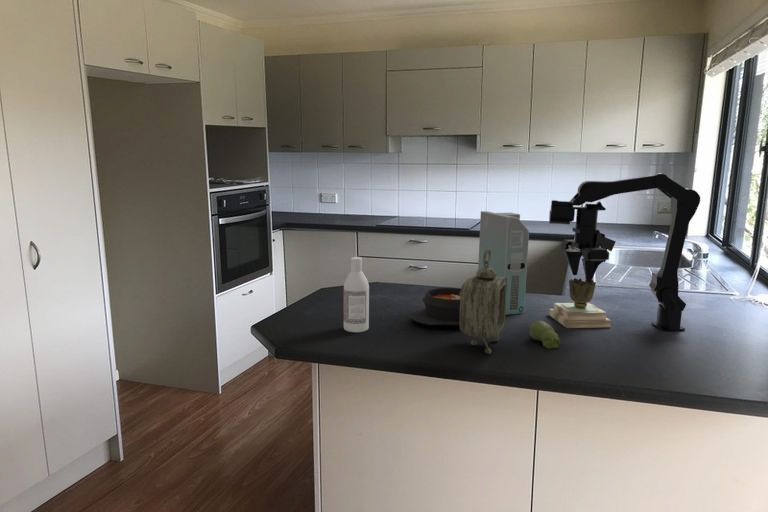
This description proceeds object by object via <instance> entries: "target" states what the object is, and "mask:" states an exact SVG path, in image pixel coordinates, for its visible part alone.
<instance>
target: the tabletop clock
mask: <svg viewBox="0 0 768 512" xmlns="http://www.w3.org/2000/svg"><path fill="white" fill-rule="evenodd" d="M487 253H489V259H488V261H487V260H486V261H485V259H486V255H487ZM490 257H491V252H490V250H489V249H487V250H486V251H485V253H484V259H483V264H484V266H485V267H483V268H480V269H479V270H478V269H477V271H476V273H475V275H474V276H471V277H469V278H467V279H466V280H465V281H464V282H463V283H462V286H461V288H460V289H461V296H460V319H459V326H458V327H459V331H461V333H463V334H464V335H465V336H467V337H474V338H473V339H471V341H470V345H472V346H476V345H477V344H478V341H477V338H481V339H482V340H483V343H484V345H485V349H484V353H485V354H486V355H491V353H492V349H491V347H489V343H488V339H490V340H491V339H493V341H495V342H499V340H500V336H501V334H502V333H503V330H504V327H505V324H506V323H505V322H506V299H507V278H506V277H497V276H496V273H495V271H494V270H493V269H492V268H489V263H490Z"/></svg>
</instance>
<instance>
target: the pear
mask: <svg viewBox="0 0 768 512" xmlns="http://www.w3.org/2000/svg"><path fill="white" fill-rule="evenodd" d="M529 335H530V336H531V338H532V340H534V341H537V342H541V343H542V346H543V347H544V348H546V349H557V348H560V345H561V339H560V336H559V335H558V333H556V331H555V330H554V328H553V326H552V325H551V324H549V323H547V322H546V321H543V320H536V321H534V322H533V323H531V325H530V327H529Z"/></svg>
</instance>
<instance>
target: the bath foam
mask: <svg viewBox="0 0 768 512" xmlns="http://www.w3.org/2000/svg"><path fill="white" fill-rule="evenodd" d="M350 264H351V266H350V269H351V270H350V272H349V273H348V276H347V277H346V279H345V280H344V283H343V284H344V285H343V329H344V330H345V331H346V332H349V333H363V332H366V331H368V330H369V327H370V285H369V281H368V279H367V277H366V276H365V274H364V272H363V258H362V257H360V256H359V257H358V256H357V257H356V256H354V257H351V258H350Z"/></svg>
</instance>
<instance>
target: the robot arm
mask: <svg viewBox="0 0 768 512" xmlns="http://www.w3.org/2000/svg"><path fill="white" fill-rule="evenodd" d="M654 189H657V190H659V191H660V192H661V193H662V194H664V195H665V196H667V197H668V198H669V199H670V215H671V222H670V227H669V231H668V234H667V235H668V236H667V239H666V245H665V249H664V253H663V257H662V261H661V262H662V263H661V266H660V269H659V270H658V272H657V273H656V272H655V273H654V272H651V279H650V280H651V281H650V283H649V284H648V287H650V292H651V294H652V295H653V296H654V297H655V298H656V301H657V302H658V308H657V313H656V314H657V315H656V322H651V325H653V326H655V327H656V328H658V329H660V330H662V331H666V332H667V331H668V332H670V331H672V332H673V331H686V328H685V327H683V326H681V323H682V315H683V314H682V313H683V311H684V310H685V309H686V306H687V304H686V303H685V301H683V299H682V298H681V297H680V296H679V287H680V286H679V284H680V283H679V276H678V275H679V274H678V271H679V267H680V263H681V258H682V253H683V250H684V245H685V241H686V236H687V233H688V229H689V228H688V227H689V224H690V221H691V220H692V219H693V217H694V216H695V215H696V212H697V210H698V208H699V205H700V204H701V196H700V194H699V193H698V192H697V190H695V189H691V188H687V187H684V186H682V185H681V184H679V183H678V182H676V181H674V180H673V179H672V178H670V177H669V176H668V175H666V173H665V174H664V173H660V172H659V173H658V172H657V173H654V174H651V175H650V174H649V175H643V176H637V177H631V178H625V179H619V180H618V179H617V180H612V181H611V180H610V181H609V180H607V181H606V180H586V181H583V182H581V183H580V184H579V185H578V188H577V192H576V194H575V195H574V196H573V197H572V198H571V199H570V200H569V201H565V200H556V199H552V200H551V204H550V210H549V218H548V219H549V221H548V223H549V224H550V225H551V224H553V225H570V223H572V222H574V221H575V227H572V231H571V232H574V239H563V240H562V241H561V245H560V249H561V250H562V252H563V254H564V257H565V258H566V261H567V263H568V265H569V268H570V271H571V273H572V275H573V276H577V275H578V271H579V266H580V262H581V263H582V267H583V271H584V276H585V281H586V280H587V282H591V281H592V280H593V279H594V276H595V274H596V271H597V270H598V268H599V266H600V265H601V264H603V263H605V262H606V261H607V260H609V259H610V252H612V251H613V249H614V246H615V244H616V240H613V239H610V238H608V237H607V236H606V233H605V234H604V233H602V232H601V231H600V229H597V227H598V214H599V211H606V210H607V209H606V207H605V206H604V205H603V204H602V202H601V200H603V199H606V198H609V197H611V196H615V195H620V194H627V193H634V192H641V191H647V190H654ZM596 201H597V202H596ZM594 202H596V203H594ZM582 205H584V206H582ZM575 211H576V212H575ZM575 213H576V214H575ZM575 216H576V219H575Z"/></svg>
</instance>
